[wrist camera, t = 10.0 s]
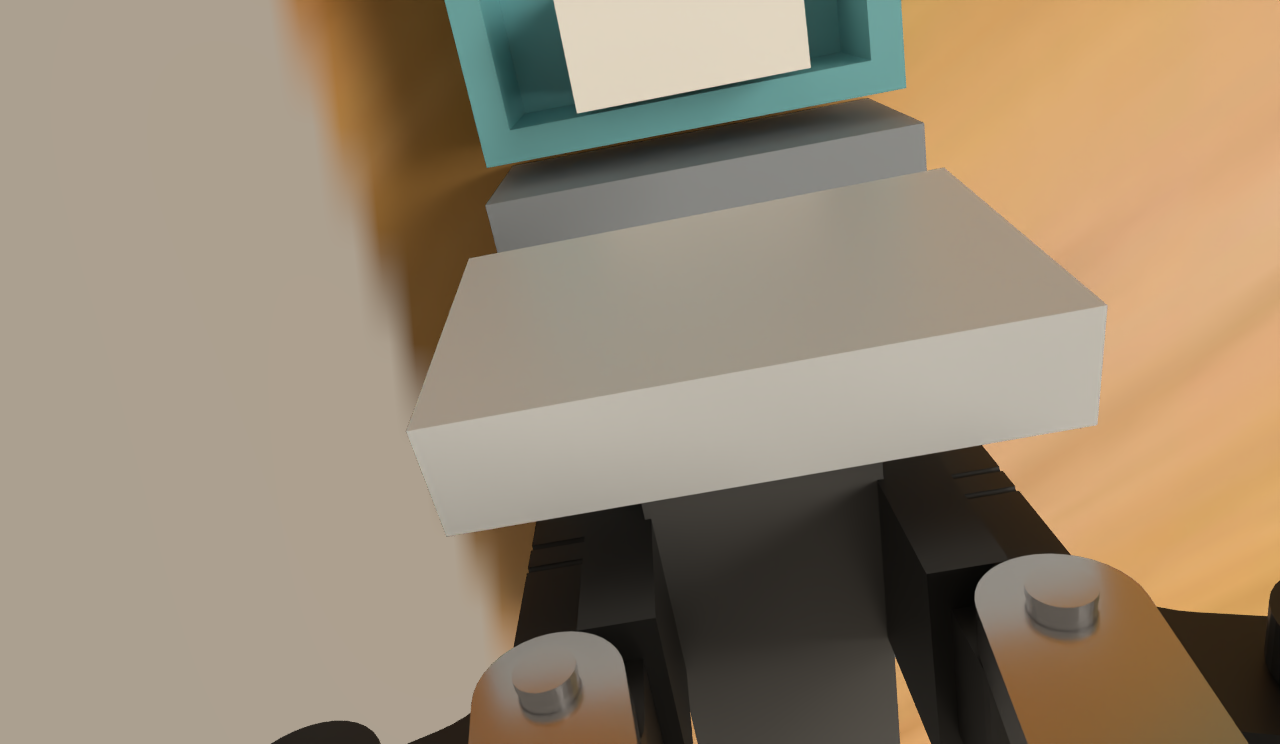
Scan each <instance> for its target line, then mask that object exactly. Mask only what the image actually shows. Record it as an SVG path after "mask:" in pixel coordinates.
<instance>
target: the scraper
mask: <svg viewBox="0 0 1280 744" xmlns="http://www.w3.org/2000/svg"><path fill="white" fill-rule="evenodd" d="M1106 317H1107V304H1105V303H1104V302H1103V301H1102V300H1101V299H1099V298H1098V297H1097V296H1096V295H1095V294H1094V293H1092V292H1091V291H1090V290H1089V289H1088V288H1086V287H1085V286H1084V285H1083V284H1082V283H1080V282H1079V281H1078V280H1077V279H1076V278H1075V277H1073V276H1072V275H1071V274H1070V273H1069V272H1067V271H1066V270H1065V269H1064V268H1063V267H1061V266H1060V265H1059V264H1058V263H1057V262H1055V261H1054V260H1053V259H1052V258H1051V257H1050V256H1048V255H1047V254H1046V253H1045V252H1044V251H1042V250H1041V249H1040V248H1039V247H1038V246H1036V245H1035V244H1034V243H1033V242H1032V241H1031V240H1029V239H1028V238H1027V237H1026V236H1025V235H1023V234H1022V233H1021V232H1020V231H1019V230H1017V229H1016V228H1015V227H1014V226H1013V225H1012V224H1010V223H1009V222H1008V221H1007V220H1006V219H1004V218H1003V217H1002V216H1001V215H1000V214H998V213H997V212H996V211H995V210H994V209H993V208H991V207H990V206H989V205H988V204H987V203H985V202H984V201H983V200H982V199H981V198H979V197H978V196H977V195H976V194H975V193H973V192H972V191H971V190H970V189H969V188H968V187H966V186H965V185H964V184H963V183H962V182H960V181H959V180H958V179H957V178H956V177H954V176H953V175H952V174H951V173H950V172H949V171H947V170H946V169H945V168H939V169H934V170H928V171H923V172H918V173H913V174H908V175H902V176H897V177H892V178H887V179H881V180H876V181H871V182H866V183H861V184H855V185H850V186H845V187H840V188H834V189H829V190H824V191H819V192H814V193H808V194H803V195H798V196H793V197H787V198H782V199H777V200H772V201H767V202H761V203H756V204H751V205H746V206H740V207H735V208H730V209H725V210H720V211H714V212H709V213H704V214H699V215H693V216H688V217H683V218H678V219H673V220H667V221H662V222H657V223H652V224H647V225H641V226H636V227H631V228H626V229H620V230H615V231H610V232H605V233H600V234H594V235H589V236H584V237H579V238H573V239H568V240H563V241H558V242H553V243H547V244H542V245H537V246H532V247H526V248H521V249H516V250H511V251H506V252H500V253H495V254H490V255H485V256H479V257H474V258H469V260H468V263H467V265H466V268H465V271H464V274H463V276H462V279H461V282H460V285H459V287H458V290H457V293H456V296H455V298H454V301H453V304H452V306H451V309H450V312H449V315H448V317H447V320H446V323H445V326H444V328H443V331H442V334H441V337H440V339H439V342H438V345H437V348H436V350H435V353H434V356H433V359H432V361H431V364H430V367H429V370H428V372H427V375H426V378H425V381H424V383H423V386H422V389H421V391H420V394H419V397H418V400H417V402H416V405H415V408H414V411H413V413H412V416H411V419H410V422H409V424H408V427H407V430H406V433H407V435H408V438H409V441H410V443H411V446H412V448H413V451H414V453H415V456H416V459H417V461H418V464H419V467H420V469H421V472H422V475H423V477H424V480H425V482H426V485H427V488H428V490H429V493H430V495H431V498H432V501H433V503H434V506H435V508H436V511H437V514H438V516H439V519H440V521H441V524H442V527H443V529H444V532H445V534H446V537H448V536H454V535H460V534H465V533H471V532H477V531H483V530H489V529H495V528H500V527H506V526H512V525H518V524H524V523H530V522H535V521H541V520H547V519H553V518H559V517H565V516H570V515H576V514H582V513H588V512H594V511H599V510H605V509H611V508H617V507H623V506H629V505H634V504H640V503H641V504H642V509H643V513H644V517H645V520H646V519H651V520H652V524H653V528H654V533H655V537H656V541H657V545H658V550H659V554H660V558H661V563H662V567H663V571H664V576H665V580H666V584H667V588H668V593H669V597H670V601H671V606H672V610H673V614H674V619H675V623H676V627H677V631H678V636H679V640H680V644H681V649H682V653H683V657H684V662H685V666H686V670H687V681H688V693H689V704H690V712H691V716H692V721H693V725H694V729H695V733H696V738H697V742H698V744H900V736H899V720H898V704H897V688H896V671H895V655H894V652H893V650H892V647H891V645H890V642H889V640H888V634H887V619H886V604H885V589H884V575H883V560H882V545H881V530H880V516H879V501H878V486H877V480H880V479H884V478H883V462H885V461H891V460H897V459H902V458H908V457H914V456H920V455H926V454H932V453H937V452H943V451H949V450H955V449H961V448H967V447H972V446H978V445H984V444H990V443H996V442H1002V441H1007V440H1013V439H1019V438H1025V437H1031V436H1036V435H1042V434H1048V433H1054V432H1060V431H1066V430H1071V429H1077V428H1083V427H1089V426H1095V425H1097V423H1098V411H1099V399H1100V388H1101V376H1102V364H1103V352H1104V340H1105V329H1106Z"/></svg>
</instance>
